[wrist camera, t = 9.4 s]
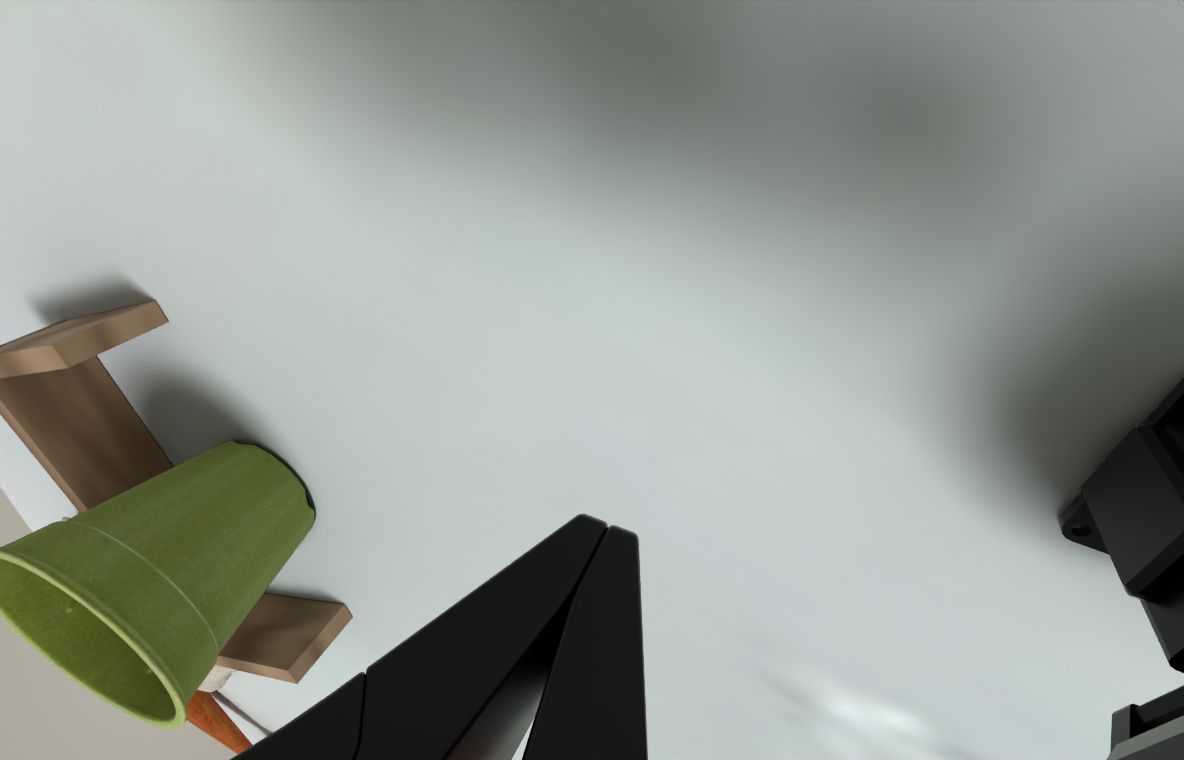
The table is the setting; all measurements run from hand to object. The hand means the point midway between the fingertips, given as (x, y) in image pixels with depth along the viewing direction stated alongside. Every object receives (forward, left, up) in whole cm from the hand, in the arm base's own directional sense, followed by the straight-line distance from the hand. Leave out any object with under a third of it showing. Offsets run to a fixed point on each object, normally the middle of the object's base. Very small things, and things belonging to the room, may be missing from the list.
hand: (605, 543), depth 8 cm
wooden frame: (+27, +24, -13) cm, 38 cm away
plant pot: (+22, +23, -13) cm, 35 cm away
